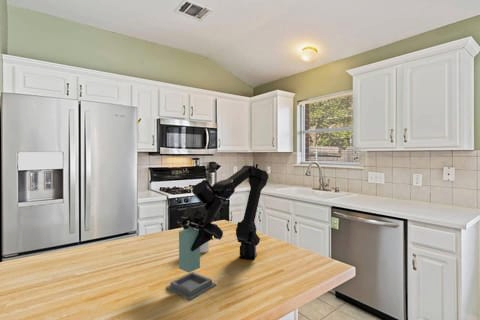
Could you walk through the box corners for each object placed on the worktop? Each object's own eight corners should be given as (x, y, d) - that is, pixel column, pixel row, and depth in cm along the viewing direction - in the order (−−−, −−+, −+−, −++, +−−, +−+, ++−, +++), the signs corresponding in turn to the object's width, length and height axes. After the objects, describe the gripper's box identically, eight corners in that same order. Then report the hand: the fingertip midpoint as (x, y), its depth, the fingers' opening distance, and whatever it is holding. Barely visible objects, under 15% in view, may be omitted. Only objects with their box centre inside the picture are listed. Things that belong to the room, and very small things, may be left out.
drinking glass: (207, 254, 122) (207, 221, 121) (193, 253, 123) (193, 220, 123) (212, 249, 128) (212, 217, 128) (198, 248, 130) (198, 217, 129)
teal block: (190, 263, 96) (190, 227, 96) (200, 267, 93) (199, 230, 93) (179, 268, 92) (178, 231, 92) (188, 272, 89) (188, 233, 89)
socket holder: (192, 275, 101) (192, 270, 101) (216, 285, 94) (216, 279, 93) (166, 288, 91) (166, 282, 91) (190, 300, 84) (190, 294, 84)
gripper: (180, 195, 101) (155, 231, 93) (217, 200, 89) (191, 242, 81) (196, 212, 107) (174, 247, 99) (232, 219, 96) (210, 260, 87)
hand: (186, 248), depth 91 cm, fingers closed on teal block, 5 cm apart
